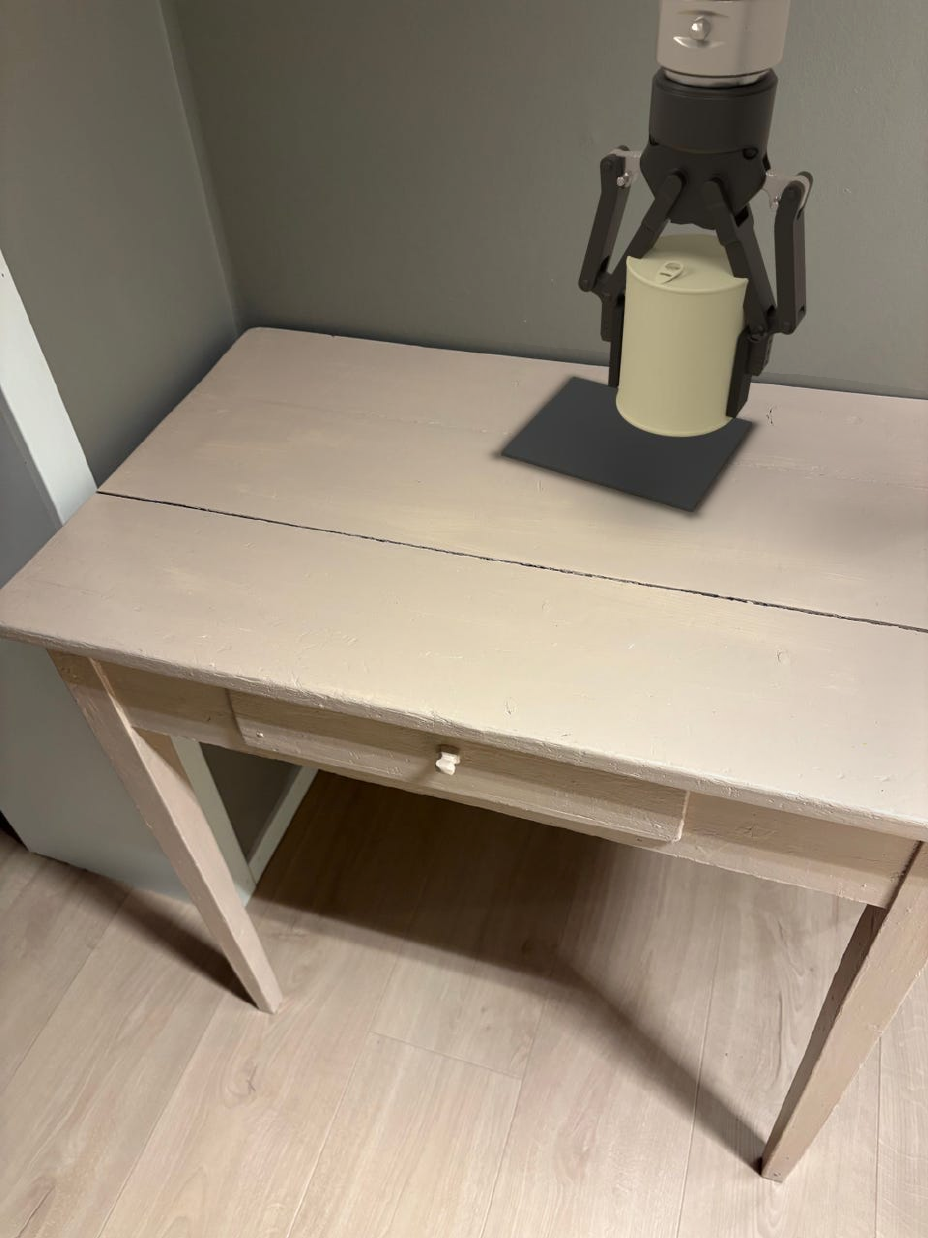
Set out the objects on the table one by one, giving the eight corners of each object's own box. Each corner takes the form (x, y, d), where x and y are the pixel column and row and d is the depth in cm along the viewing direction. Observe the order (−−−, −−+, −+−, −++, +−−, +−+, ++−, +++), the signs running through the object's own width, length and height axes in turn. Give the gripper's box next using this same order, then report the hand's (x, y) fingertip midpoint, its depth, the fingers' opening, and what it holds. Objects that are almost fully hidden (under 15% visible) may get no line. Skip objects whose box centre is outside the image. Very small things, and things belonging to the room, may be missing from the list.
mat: (752, 424, 97) (752, 421, 96) (692, 512, 87) (692, 508, 87) (573, 379, 105) (573, 376, 104) (501, 454, 95) (500, 451, 95)
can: (592, 409, 75) (599, 259, 66) (659, 361, 79) (674, 215, 71) (693, 452, 70) (715, 296, 62) (759, 398, 75) (787, 246, 66)
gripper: (529, 66, 60) (529, 383, 76) (883, 107, 52) (801, 455, 68) (581, 35, 65) (571, 341, 81) (915, 68, 56) (831, 403, 72)
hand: (676, 393), depth 74 cm, fingers closed on can, 9 cm apart
